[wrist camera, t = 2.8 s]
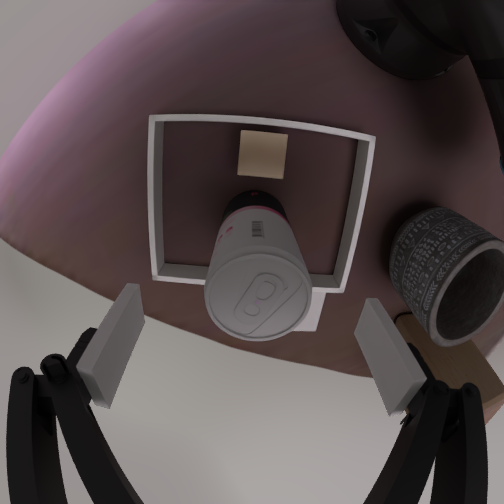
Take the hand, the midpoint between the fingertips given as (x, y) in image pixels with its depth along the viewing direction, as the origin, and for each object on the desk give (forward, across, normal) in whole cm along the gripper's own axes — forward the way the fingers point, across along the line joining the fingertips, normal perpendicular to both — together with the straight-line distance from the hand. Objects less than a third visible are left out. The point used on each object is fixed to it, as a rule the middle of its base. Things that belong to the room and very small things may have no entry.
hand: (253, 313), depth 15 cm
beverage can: (+16, 0, 0) cm, 16 cm away
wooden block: (+16, +27, -16) cm, 35 cm away
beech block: (+16, 0, +8) cm, 18 cm away
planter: (+16, +21, -1) cm, 27 cm away
